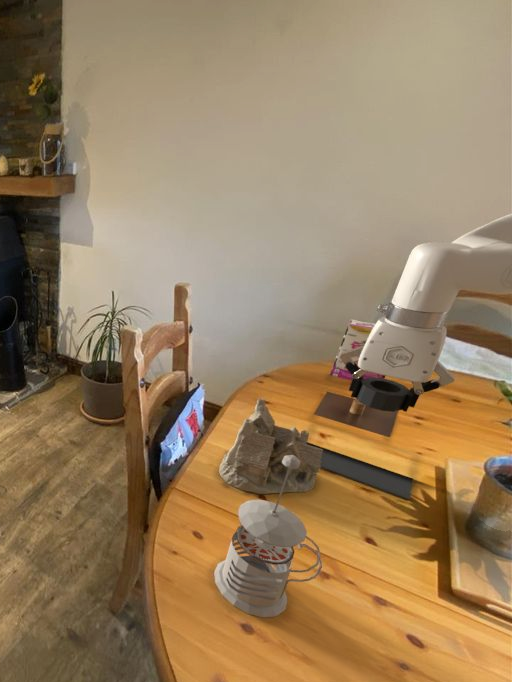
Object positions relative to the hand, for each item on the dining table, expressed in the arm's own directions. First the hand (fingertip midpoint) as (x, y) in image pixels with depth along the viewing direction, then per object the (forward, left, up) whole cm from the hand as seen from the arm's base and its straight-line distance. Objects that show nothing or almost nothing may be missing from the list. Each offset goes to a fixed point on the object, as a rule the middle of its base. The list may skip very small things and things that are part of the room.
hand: (378, 400), depth 81 cm
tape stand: (+3, -17, -14) cm, 22 cm away
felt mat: (0, 0, -14) cm, 14 cm away
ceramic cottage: (+12, +18, -14) cm, 26 cm away
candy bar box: (+6, -37, -14) cm, 40 cm away
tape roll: (0, 0, 0) cm, 0 cm away
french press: (+5, +46, -14) cm, 48 cm away
